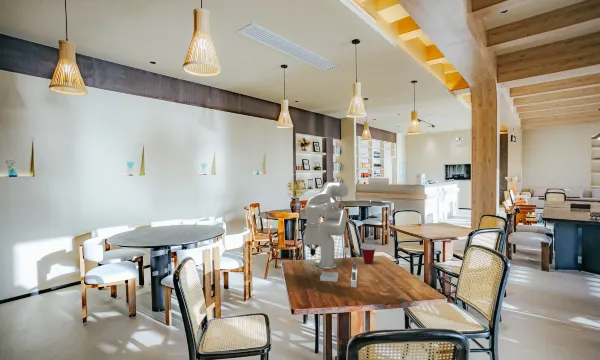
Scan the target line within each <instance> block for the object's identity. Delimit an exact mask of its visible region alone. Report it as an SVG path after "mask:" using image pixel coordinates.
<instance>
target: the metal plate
mask: <svg viewBox="0 0 600 360" xmlns="http://www.w3.org/2000/svg"><path fill="white" fill-rule="evenodd" d="M319 279H320V280H319V281H320V282H334V283H336V282H338V279H339V271H338V272H337V271H335V272H334V271H322V272H321V274H320V276H319Z"/></svg>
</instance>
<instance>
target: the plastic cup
mask: <svg viewBox="0 0 600 360" xmlns="http://www.w3.org/2000/svg"><path fill="white" fill-rule="evenodd" d="M376 248H377V247H376V246H375V245H371V244H370V245H369V244H365V245H364V244H363V245H361V246H360V249H361V251H362V256H363V257H362V258H363V262H364V264H366V265H372V264H373V263H374V257H375V252H376Z"/></svg>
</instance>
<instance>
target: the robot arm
mask: <svg viewBox="0 0 600 360" xmlns="http://www.w3.org/2000/svg"><path fill="white" fill-rule="evenodd" d="M348 194H349V187H348V186H347V185H346V184H345V183H343V182H341V181H327V182H324V184H323V185H322V188H321V189H320V191H319V192H318V194H315V195H313V196H312V197H310V198H309V199H308V201H307V202H306V204H305V206H304V211H303V212H304V214H305V215H306V223H304V226H306V227H305V229H304V238H303V240H304V241H303V242H304V245H303V246H305V247H308V248H309V251H310V252H309V253H310V254H309V255H311V256H310V257H315V255H316V249H317V248H320V258H319V259H314V264H317V265H318V267H319V268H320V269H325V270H332V269H335V268H337V267H338V266H337V263H335V240H334V236H339V237H340V236H343V235H344V233H345V230H346V225H347V219H348V212H347V210H346V209H345V208H340V203H339V201H338V199H336V197H339V198H341V197H342V198H344V197H348ZM324 204H326V206H325V205H324ZM320 217H324V220H323V221H321V222H320Z"/></svg>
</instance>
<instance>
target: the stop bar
mask: <svg viewBox="0 0 600 360" xmlns="http://www.w3.org/2000/svg"><path fill="white" fill-rule="evenodd" d="M352 263H353V264H352V270H351V277H350V278H351V279H350V286H351V288H357V285H358V268H357V262H352Z"/></svg>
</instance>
